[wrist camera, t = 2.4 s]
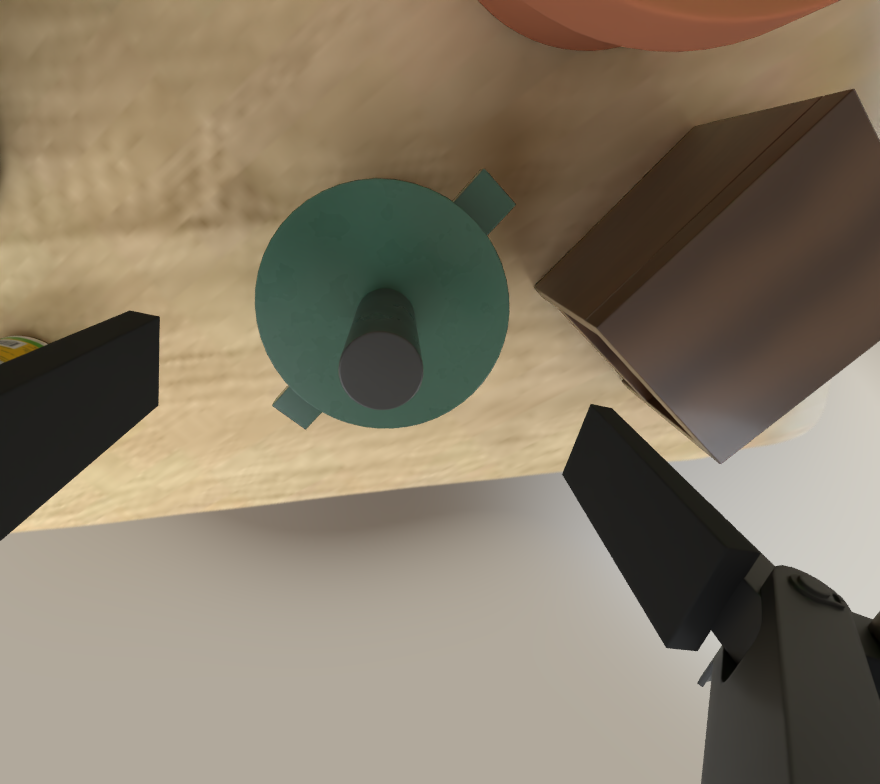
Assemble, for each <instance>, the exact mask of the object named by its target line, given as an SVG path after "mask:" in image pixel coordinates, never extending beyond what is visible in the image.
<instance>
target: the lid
mask: <svg viewBox="0 0 880 784" xmlns="http://www.w3.org/2000/svg"><path fill="white" fill-rule="evenodd" d="M255 311H256V319H257V325H258V329H259V333H260V337H261V340H262V342H263V345H264V347H265V350H266V352H267V355H268V356H269V358H270V360H271V362H272V364H273V365H274V367H275V369H276V370H277V371H278V373H279V374H280V376H281V377H282V378H283V380H284V381H285V382H286V383H287V384H288V385H289V386H290V387H291V388H292V390H293V391H294V392H295V393H296V394H298V395H299V396H300V397H301V398H302V399H304V400H305V401H306V402H307V403H309V404H310V405H312V406H313V407H315V408H316V409H318V410H319V411H321V412H323V413H325V414H327V415H329V416H331V417H333V418H336V419H338V420H341V421H344V422H347V423H350V424H354V425H358V426H363V427H371V428H400V427H408V426H413V425H417V424H421V423H424V422H427V421H430V420H433V419H435V418H437V417H439V416H441V415H443V414H445V413H447V412H449V411H451V410H452V409H454V408H455V407H457V406H458V405H460V404H461V403H463V402H464V401H465V400H466V399H467V398H468V397H470V396H471V395H472V394H473V393H474V392H475V391H476V390H477V389H478V387H479V386H480V385H481V384H482V383H483V382H484V380H485V379H486V377H487V376H488V375H489V373H490V372H491V370H492V368H493V367H494V365H495V363H496V361H497V359H498V357H499V355H500V352H501V349H502V347H503V344H504V341H505V337H506V333H507V328H508V320H509V293H508V287H507V280H506V277H505V273H504V270H503V266H502V263H501V261H500V259H499V257H498V254H497V252H496V250H495V248H494V246H493V245H492V243H491V241H490V240H489V238H488V236H487V235H486V233H485V232H484V231H483V230H482V228H481V227H480V226H479V225H478V223H477V222H476V221H475V220H474V219H473V218H472V217H471V216H470V215H469V214H468V213H467V212H466V211H464V210H463V209H462V208H461V207H460V206H458V205H457V204H455V203H454V202H453V201H451V200H450V199H448V198H447V197H445V196H443V195H441V194H439V193H437V192H435V191H433V190H432V189H429V188H426V187H423V186H421V185H418V184H415V183H411V182H406V181H401V180H396V179H381V178H373V179H362V180H355V181H351V182H347V183H343V184H339V185H337V186H334V187H332V188H329V189H327V190H324V191H322V192H320V193H319V194H317V195H315V196H313V197H312V198H310V199H308V200H307V201H305V202H304V203H303V204H302V205H300V206H299V207H298V208H297V209H296V210H294V211H293V212H292V213H291V214H290V215H289V216H288V217H287V219H286V220H285V221H284V222H283V223H282V224H281V225H280V227H279V228H278V230H277V231H276V233H275V234H274V236H273V237H272V238H271V240H270V242H269V244H268V246H267V248H266V251H265V253H264V255H263V258H262V261H261V264H260V267H259V270H258V275H257V281H256V287H255Z"/></svg>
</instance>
